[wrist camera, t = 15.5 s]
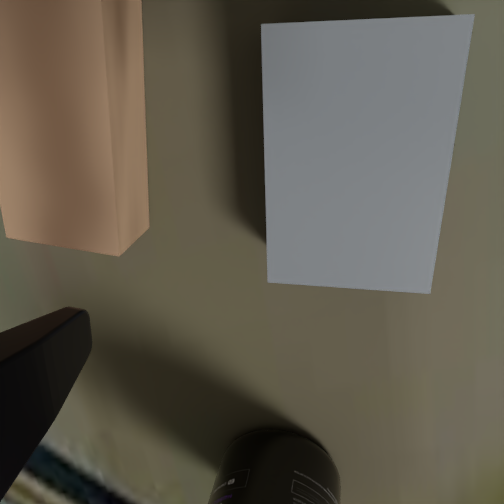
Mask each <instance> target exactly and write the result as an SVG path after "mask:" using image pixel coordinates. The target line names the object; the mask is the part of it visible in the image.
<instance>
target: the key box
mask: <svg viewBox="0 0 504 504" xmlns="http://www.w3.org/2000/svg"><path fill="white" fill-rule="evenodd" d="M0 206H1V211H2V216H3V221H4V227H5V232H6V237H7V238H11V239H17V240H23V241H29V242H35V243H41V244H47V245H53V246H59V247H65V248H72V249H78V250H84V251H90V252H96V253H102V254H108V255H114V256H120V255H121V254H122V253H123V252H124V251H126V250H127V249H128V248H129V247H130V246H131V245H132V244H133V243H134V242H135V241H136V240H137V239H138V238H139V237H140V236H141V235H142V234H143V233H144V232H145V231H146V230H147V229H148V228H149V199H148V170H147V142H146V114H145V86H144V58H143V30H142V2H141V0H0Z"/></svg>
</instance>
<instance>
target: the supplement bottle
mask: <svg viewBox="0 0 504 504" xmlns="http://www.w3.org/2000/svg"><path fill="white" fill-rule="evenodd" d="M340 493H341V486H340V477H339V473H338V470H337V468H336V466H335V464H334V462H333V461H332V459H331V458H330V457H329V456H328V454H327V453H326V452H325V451H324V450H323V449H321V448H320V447H319V446H318V445H316V444H315V443H313V442H312V441H310V440H308V439H306V438H304V437H302V436H300V435H297V434H294V433H291V432H287V431H281V430H259V431H254V432H250V433H247V434H245V435H243V436H241V437H239V438H238V439H236V440H235V441H234V442H232V443H231V445H230V446H229V447H228V448H227V450H226V451H225V453H224V456H223V458H222V461H221V464H220V467H219V470H218V473H217V476H216V479H215V482H214V486H213V489H212V492H211V495H210V499H209V502H208V504H340Z"/></svg>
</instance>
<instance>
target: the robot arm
mask: <svg viewBox="0 0 504 504" xmlns="http://www.w3.org/2000/svg"><path fill="white" fill-rule="evenodd" d="M91 348H92V335H91V326H90V318H89V314H88V312H87V311H86V310H84V309H80V308H74V307H65V308H62V309H59V310H57V311H54V312H52V313H49V314H47V315H44V316H42V317H39V318H37V319H34V320H31V321H29V322H26V323H24V324H21V325H19V326H16V327H14V328H11V329H9V330H6V331H3V332H1V333H0V502H1V500H2V499H3V497H4V496H5V494H6V493H7V491H8V490H9V488H10V487H11V485H12V483H13V482H14V480H15V479H16V477H17V476H18V474H19V473H20V471H21V470H22V468H23V467H24V465H25V464H26V462H27V461H28V459H29V458H30V456H31V455H32V453H33V452H34V450H35V449H36V447H37V446H38V444H39V443H40V441H41V440H42V438H43V437H44V435H45V434H46V432H47V431H48V429H49V428H50V426H51V425H52V423H53V422H54V420H55V418H56V417H57V415H58V413H59V411H60V409H61V408H62V406H63V404H64V402H65V400H66V398H67V396H68V394H69V392H70V391H71V389H72V387H73V385H74V383H75V381H76V379H77V377H78V375H79V373H80V371H81V370H82V368H83V366H84V364H85V362H86V360H87V358H88V356H89V354H90V352H91Z"/></svg>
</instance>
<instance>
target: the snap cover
mask: <svg viewBox="0 0 504 504" xmlns="http://www.w3.org/2000/svg"><path fill="white" fill-rule="evenodd" d="M474 16H475V14H468V15H446V16H424V17H402V18H381V19H359V20H337V21H316V22H294V23H272V24H261V44H262V83H263V122H264V160H265V199H266V237H267V276H268V282H270V283H284V284H298V285H312V286H327V287H341V288H355V289H369V290H383V291H397V292H411V293H425V294H430V292H431V285H432V279H433V273H434V266H435V260H436V254H437V248H438V241H439V235H440V229H441V223H442V216H443V210H444V204H445V197H446V191H447V185H448V179H449V172H450V166H451V160H452V154H453V147H454V141H455V135H456V128H457V122H458V116H459V110H460V103H461V97H462V91H463V85H464V78H465V72H466V66H467V60H468V53H469V47H470V41H471V34H472V28H473V22H474Z"/></svg>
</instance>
